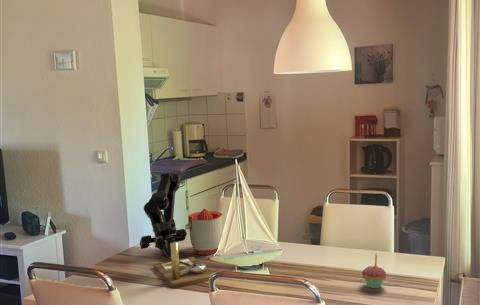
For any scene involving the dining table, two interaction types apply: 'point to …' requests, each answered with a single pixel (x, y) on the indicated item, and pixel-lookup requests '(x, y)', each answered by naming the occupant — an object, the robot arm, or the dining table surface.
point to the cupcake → (374, 275)
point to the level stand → (184, 279)
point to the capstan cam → (192, 268)
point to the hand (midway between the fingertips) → (169, 257)
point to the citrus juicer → (205, 231)
